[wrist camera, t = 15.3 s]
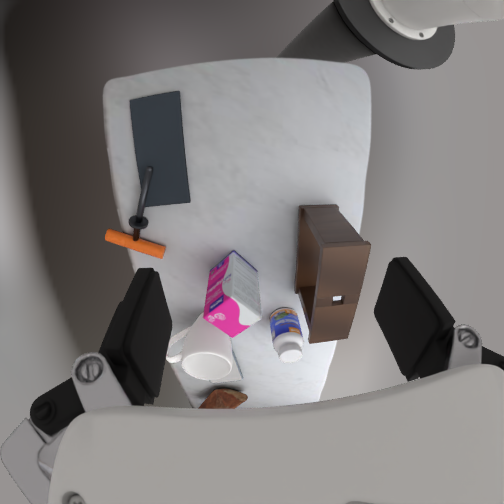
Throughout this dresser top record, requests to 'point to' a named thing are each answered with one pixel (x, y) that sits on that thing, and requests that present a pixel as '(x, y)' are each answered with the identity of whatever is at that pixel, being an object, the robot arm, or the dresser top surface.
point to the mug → (204, 350)
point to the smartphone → (231, 373)
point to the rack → (328, 271)
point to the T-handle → (138, 226)
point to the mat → (161, 147)
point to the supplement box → (233, 295)
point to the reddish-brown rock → (223, 399)
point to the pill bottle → (286, 335)
